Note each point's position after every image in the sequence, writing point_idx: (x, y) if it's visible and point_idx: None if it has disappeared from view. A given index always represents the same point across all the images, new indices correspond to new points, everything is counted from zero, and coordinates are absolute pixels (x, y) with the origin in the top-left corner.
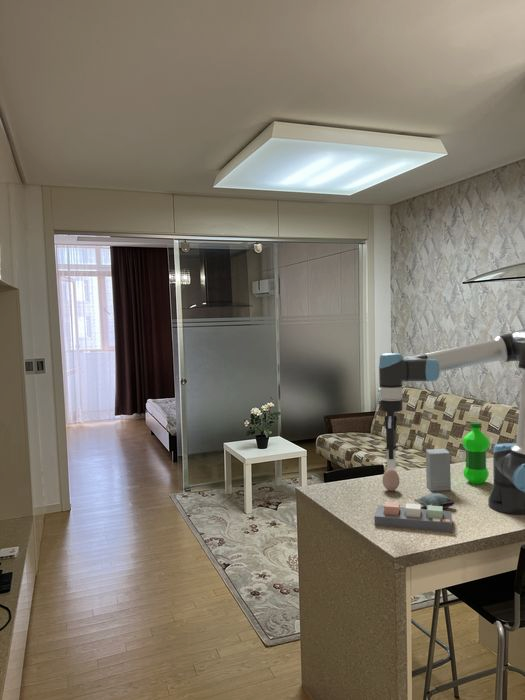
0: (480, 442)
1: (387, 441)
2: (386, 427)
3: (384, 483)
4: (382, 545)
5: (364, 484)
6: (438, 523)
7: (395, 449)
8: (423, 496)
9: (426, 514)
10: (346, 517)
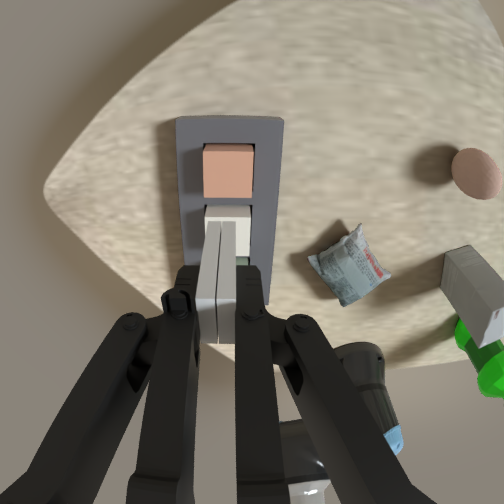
0: (484, 389)
1: (88, 371)
2: (15, 484)
3: (465, 152)
4: (66, 160)
5: (493, 101)
6: None
7: (230, 339)
8: (355, 253)
9: None
10: (222, 29)
